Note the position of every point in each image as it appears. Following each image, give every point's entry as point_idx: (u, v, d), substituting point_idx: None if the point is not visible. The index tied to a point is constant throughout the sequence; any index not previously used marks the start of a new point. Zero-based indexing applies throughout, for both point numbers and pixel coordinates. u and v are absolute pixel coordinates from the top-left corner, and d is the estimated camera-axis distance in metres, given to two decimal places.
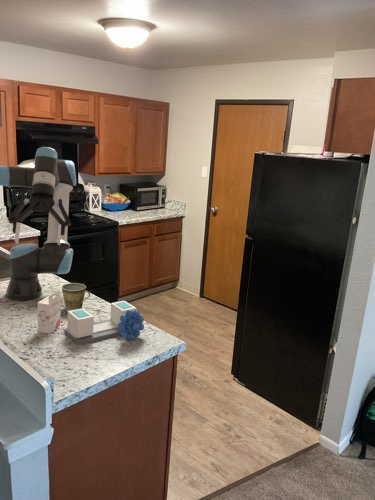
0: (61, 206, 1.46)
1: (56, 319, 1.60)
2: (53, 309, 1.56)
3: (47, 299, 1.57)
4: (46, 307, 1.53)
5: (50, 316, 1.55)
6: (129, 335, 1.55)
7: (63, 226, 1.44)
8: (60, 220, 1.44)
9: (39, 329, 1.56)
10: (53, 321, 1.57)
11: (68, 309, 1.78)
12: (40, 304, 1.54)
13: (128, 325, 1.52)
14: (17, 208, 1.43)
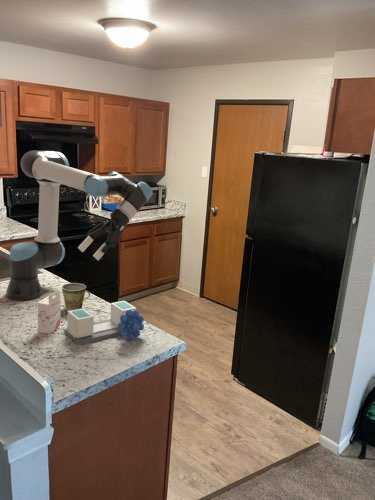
0: None
1: (56, 319, 1.60)
2: (53, 309, 1.56)
3: (47, 299, 1.57)
4: (46, 307, 1.53)
5: (50, 316, 1.55)
6: (129, 335, 1.55)
7: None
8: None
9: (39, 329, 1.56)
10: (53, 321, 1.57)
11: (68, 309, 1.78)
12: (40, 304, 1.54)
13: (128, 325, 1.52)
14: None
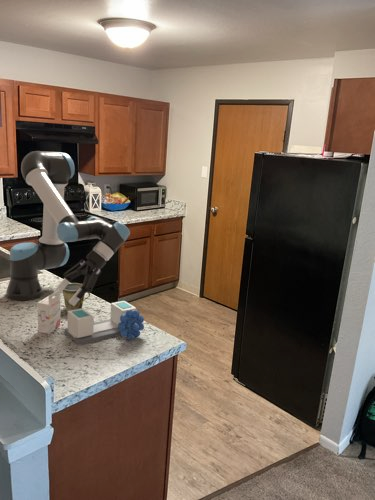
0: None
1: (56, 319, 1.60)
2: (53, 309, 1.56)
3: (47, 299, 1.57)
4: (46, 307, 1.53)
5: (50, 316, 1.55)
6: (129, 335, 1.55)
7: None
8: None
9: (39, 329, 1.56)
10: (53, 321, 1.57)
11: (68, 309, 1.78)
12: (40, 304, 1.54)
13: (128, 325, 1.52)
14: None
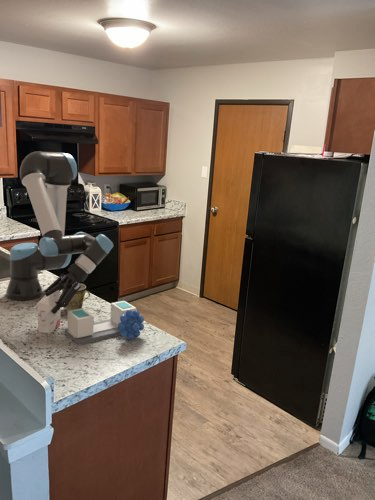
0: None
1: (56, 319, 1.60)
2: None
3: (47, 299, 1.57)
4: (46, 307, 1.53)
5: None
6: (129, 335, 1.55)
7: None
8: None
9: (39, 329, 1.56)
10: (53, 321, 1.57)
11: (68, 309, 1.78)
12: (40, 304, 1.54)
13: (128, 325, 1.52)
14: None
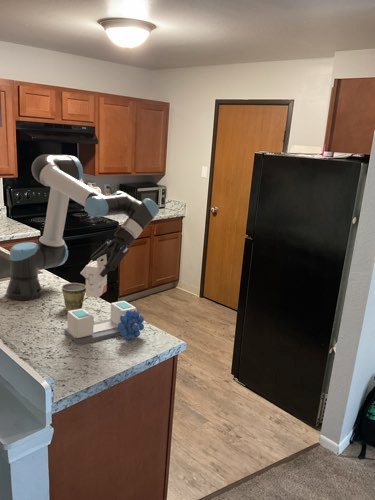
0: None
1: (103, 284, 1.56)
2: None
3: (94, 263, 1.54)
4: (94, 270, 1.50)
5: None
6: (129, 335, 1.55)
7: None
8: None
9: (86, 293, 1.53)
10: (100, 285, 1.54)
11: (68, 309, 1.78)
12: (88, 267, 1.50)
13: (128, 325, 1.52)
14: None
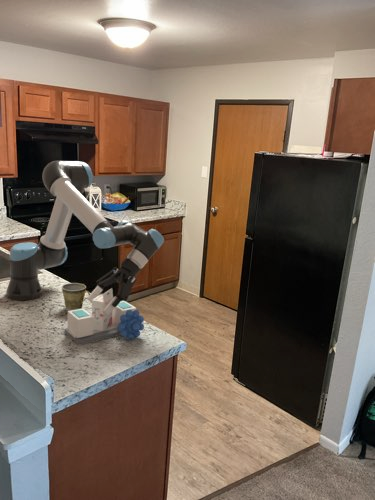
0: None
1: (109, 317, 1.61)
2: None
3: (101, 297, 1.58)
4: (100, 304, 1.54)
5: (104, 314, 1.56)
6: (129, 335, 1.55)
7: None
8: None
9: None
10: (106, 318, 1.58)
11: (68, 309, 1.78)
12: (94, 302, 1.55)
13: (128, 325, 1.52)
14: None
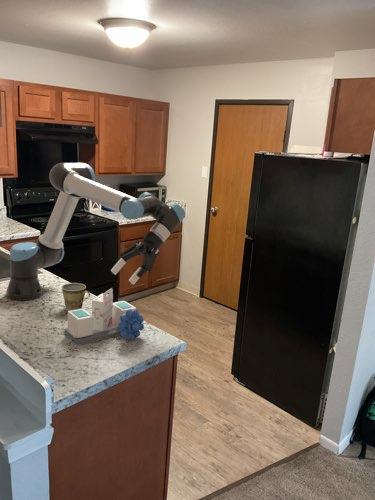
0: None
1: (109, 317, 1.61)
2: (107, 307, 1.57)
3: (101, 297, 1.58)
4: (100, 304, 1.54)
5: (104, 314, 1.56)
6: (129, 335, 1.55)
7: None
8: None
9: None
10: (106, 318, 1.58)
11: (68, 309, 1.78)
12: (94, 302, 1.55)
13: (128, 325, 1.52)
14: None
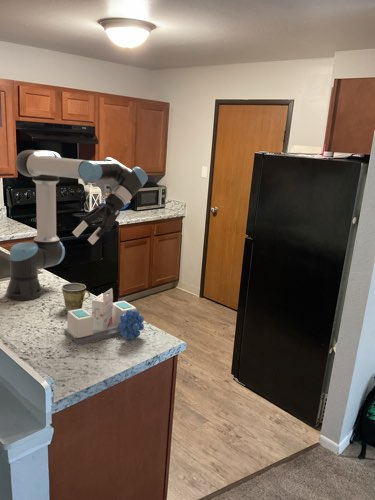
0: None
1: (109, 317, 1.61)
2: (107, 307, 1.57)
3: (101, 297, 1.58)
4: (100, 304, 1.54)
5: (104, 314, 1.56)
6: (129, 335, 1.55)
7: None
8: None
9: None
10: (106, 318, 1.58)
11: (68, 309, 1.78)
12: (94, 302, 1.55)
13: (128, 325, 1.52)
14: None
